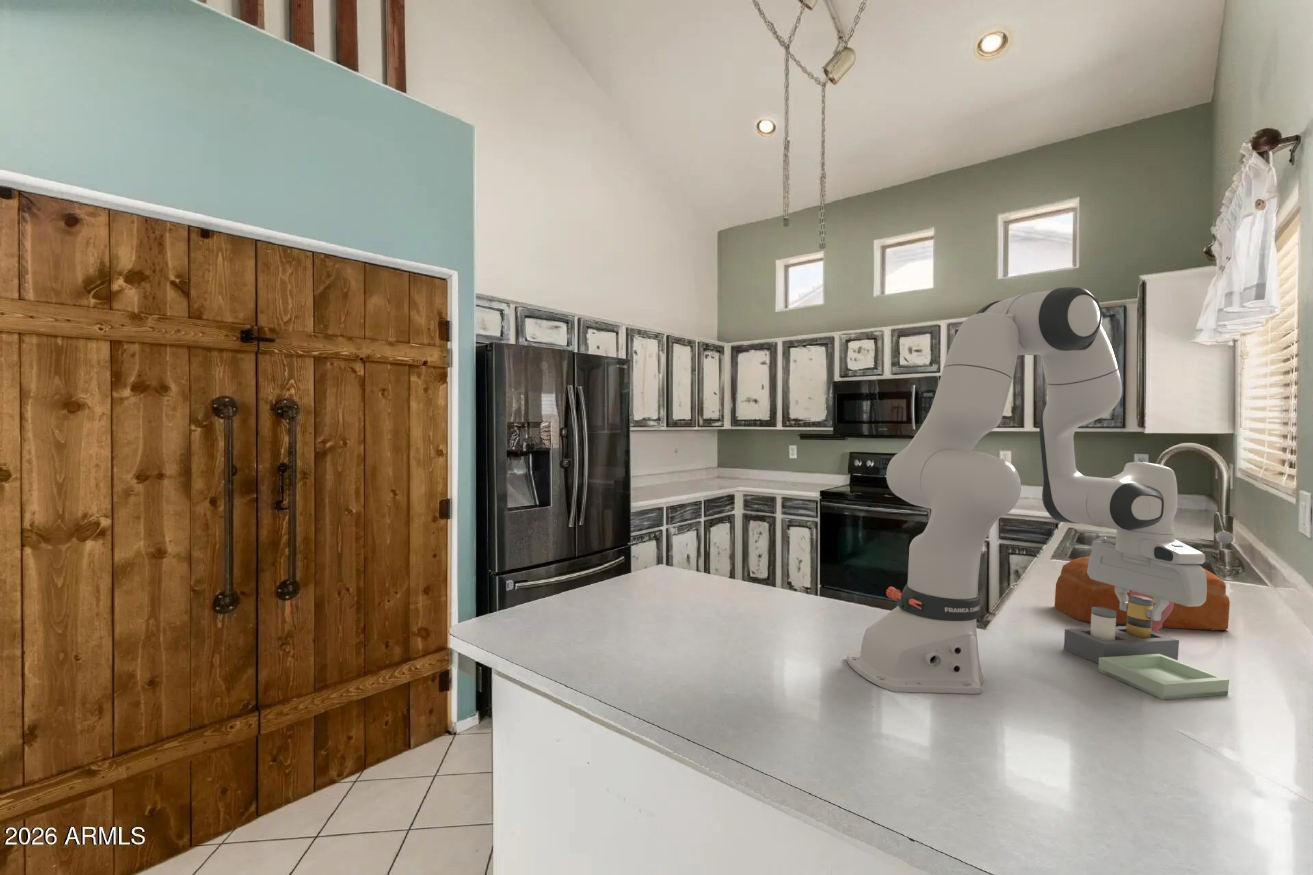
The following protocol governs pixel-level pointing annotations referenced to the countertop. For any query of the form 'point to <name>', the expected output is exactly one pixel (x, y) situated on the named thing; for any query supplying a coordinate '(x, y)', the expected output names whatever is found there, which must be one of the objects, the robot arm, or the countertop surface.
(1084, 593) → the bread
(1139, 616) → the cylinder
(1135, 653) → the fuse holder
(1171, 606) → the light bulb
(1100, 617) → the ball
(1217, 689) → the tray
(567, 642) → the countertop surface
